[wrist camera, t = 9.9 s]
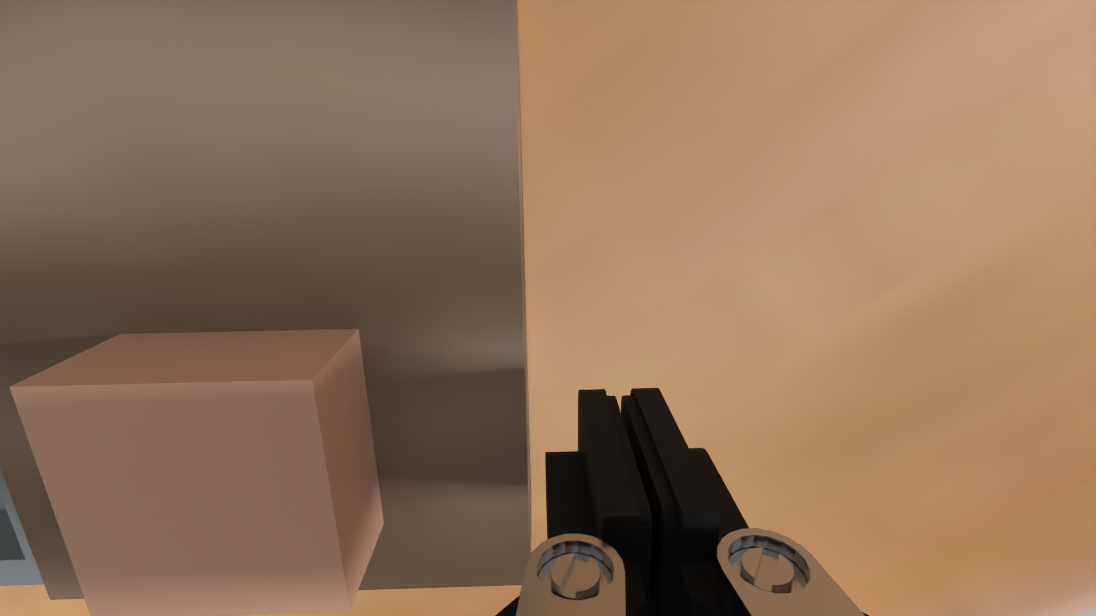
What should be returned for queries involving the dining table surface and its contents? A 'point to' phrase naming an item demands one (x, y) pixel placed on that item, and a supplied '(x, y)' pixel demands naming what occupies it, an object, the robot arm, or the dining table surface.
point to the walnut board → (284, 232)
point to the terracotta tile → (210, 470)
